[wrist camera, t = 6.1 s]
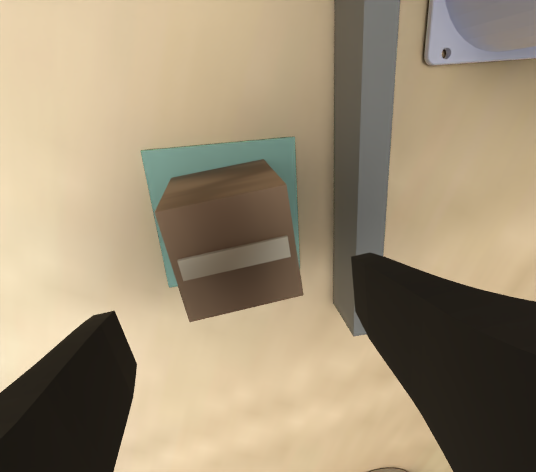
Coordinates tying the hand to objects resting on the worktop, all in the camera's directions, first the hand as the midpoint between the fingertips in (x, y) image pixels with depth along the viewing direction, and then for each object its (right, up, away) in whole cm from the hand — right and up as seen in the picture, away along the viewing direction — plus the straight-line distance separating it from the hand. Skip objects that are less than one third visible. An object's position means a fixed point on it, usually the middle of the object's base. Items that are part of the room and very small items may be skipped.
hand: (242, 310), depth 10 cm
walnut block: (-1, +4, +9) cm, 10 cm away
